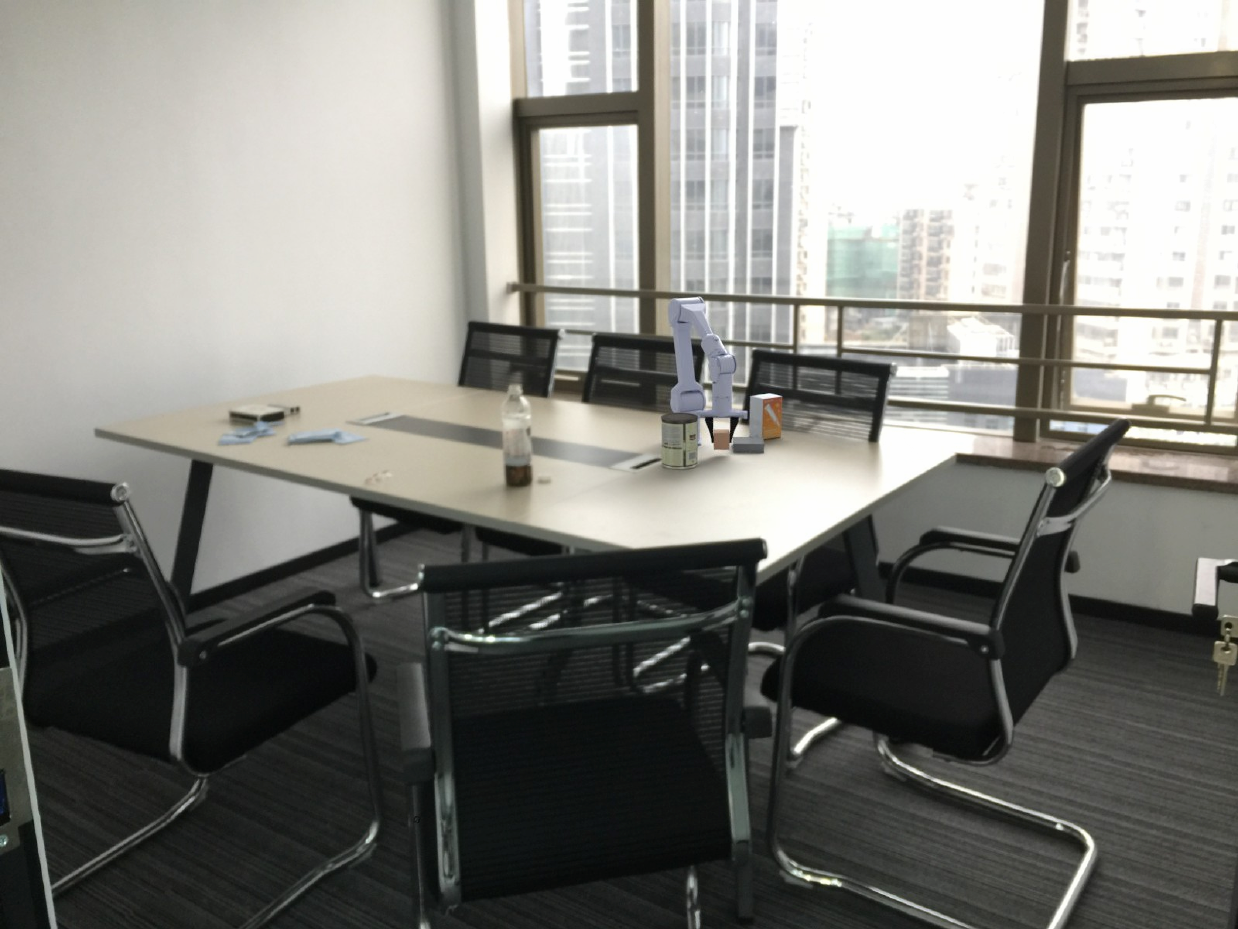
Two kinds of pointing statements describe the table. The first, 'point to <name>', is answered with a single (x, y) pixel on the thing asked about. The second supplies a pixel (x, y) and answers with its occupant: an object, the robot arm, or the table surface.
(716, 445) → the peach block
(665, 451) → the coffee can
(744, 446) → the plate
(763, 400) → the small box
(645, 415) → the table surface
